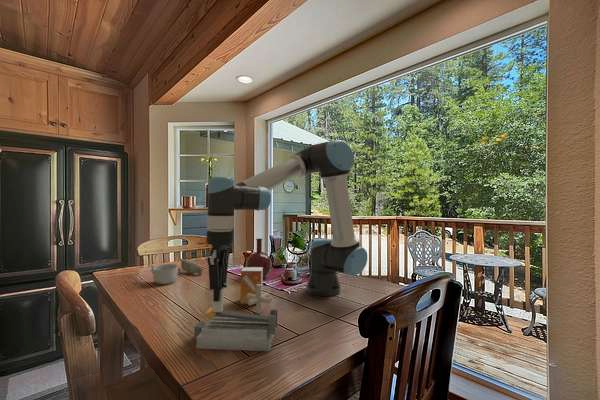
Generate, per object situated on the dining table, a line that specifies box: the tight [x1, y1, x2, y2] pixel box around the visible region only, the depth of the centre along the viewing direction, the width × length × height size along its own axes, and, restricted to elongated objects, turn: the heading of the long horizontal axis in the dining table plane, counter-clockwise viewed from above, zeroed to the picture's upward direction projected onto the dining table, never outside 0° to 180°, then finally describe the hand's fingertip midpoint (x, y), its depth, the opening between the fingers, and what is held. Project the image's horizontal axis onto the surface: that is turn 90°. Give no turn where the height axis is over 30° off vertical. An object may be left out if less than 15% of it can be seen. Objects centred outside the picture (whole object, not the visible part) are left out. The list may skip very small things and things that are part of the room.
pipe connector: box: [247, 284, 272, 315], centre depth 104 cm, size 10×10×10 cm
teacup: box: [150, 263, 179, 286], centre depth 140 cm, size 14×11×8 cm
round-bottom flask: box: [245, 238, 273, 278], centre depth 151 cm, size 13×13×20 cm
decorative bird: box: [177, 258, 203, 277], centre depth 157 cm, size 5×16×8 cm, turn 62°
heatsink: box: [193, 308, 279, 352], centre depth 84 cm, size 23×12×8 cm, turn 87°
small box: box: [240, 266, 264, 305], centre depth 115 cm, size 8×6×13 cm
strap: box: [203, 306, 268, 322], centre depth 84 cm, size 20×5×1 cm, turn 87°
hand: (217, 311), depth 84 cm, fingers closed
